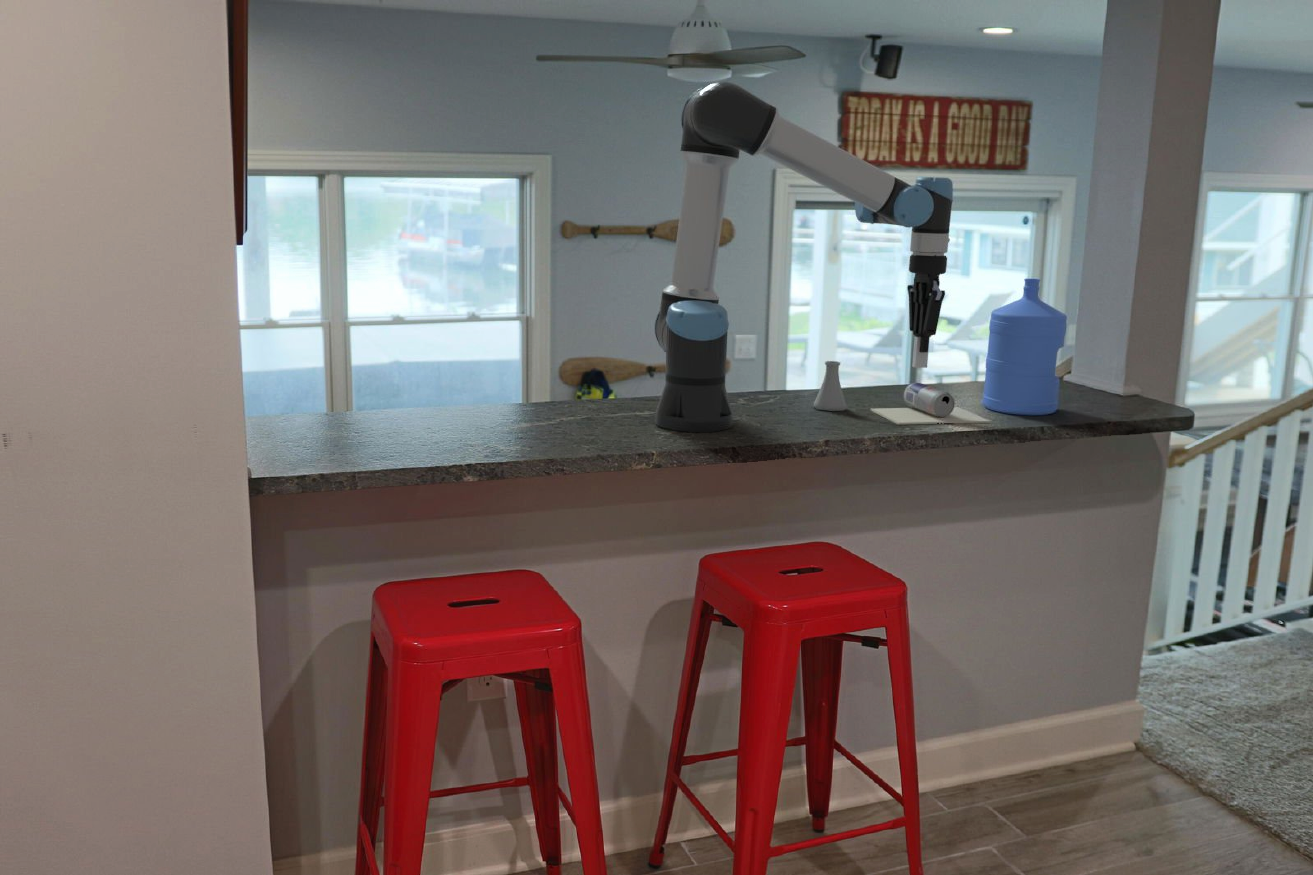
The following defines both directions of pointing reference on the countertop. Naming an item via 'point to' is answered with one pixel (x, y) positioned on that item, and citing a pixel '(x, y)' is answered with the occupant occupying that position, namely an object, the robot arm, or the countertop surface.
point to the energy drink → (929, 399)
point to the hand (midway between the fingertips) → (919, 366)
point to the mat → (927, 416)
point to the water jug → (1024, 355)
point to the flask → (831, 390)
